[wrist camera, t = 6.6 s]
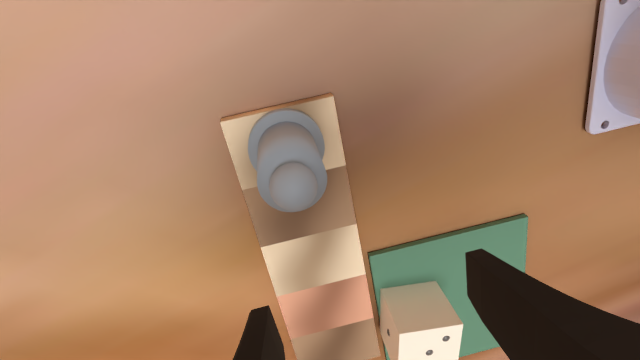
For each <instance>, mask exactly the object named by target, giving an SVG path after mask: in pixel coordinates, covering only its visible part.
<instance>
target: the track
mask: <svg viewBox="0 0 640 360" xmlns="http://www.w3.org/2000/svg"><path fill="white" fill-rule="evenodd" d="M281 108H290V109H296V110H299V111H302V112H304V113H305V114H307V115H308V116H310V117H311V118H312V119H313V120H314V121H315V122H316V124H317V125H318V127H319V129H320V131H321V133H322V135H323V139H324V144H325V151H324V156H323V159H322V161H323V164H324V167H325V169H326V173H327V186H326V189H325V192H324V194H323V195H322V197H321V198H320V199H319V201H318V202H316V203H315V204H314V205H313V206H311V207H309V208H307V209H305V210H302V211H298V212H284V211H280V210H277V209H275V208H273V207H271V206H270V205H268V204H267V203H266V202H265V201H264V200H263V198H262V197H261V195H260V193H259V191H258V187H257V171H256V170H255V168H254V167H253V165H252V164H251V161H250V159H249V155H248V140H249V135H250V132H251V130H252V128H253V126H254V124H255V123H256V122H257V121H258V120H259V119H260V118H261V117H262V116H263V115H265V114H266V113H268V112H270V111H273V110H276V109H281ZM220 124H221V127H222V131H223V134H224V137H225V140H226V143H227V146H228V149H229V152H230V155H231V158H232V161H233V164H234V167H235V170H236V173H237V177H238V180H239V183H240V186H241V189H242V192H243V195H244V198H245V201H246V204H247V207H248V210H249V213H250V216H251V219H252V223H253V226H254V229H255V232H256V235H257V238H258V241H259V244H260V247H261V250H262V253H263V256H264V259H265V262H266V265H267V269H268V272H269V275H270V278H271V281H272V284H273V287H274V290H275V293H276V296H277V299H278V302H279V305H280V308H281V311H282V315H283V318H284V321H285V324H286V327H287V330H288V333H289V336H290V339H291V342H292V345H293V348H294V351H295V354H296V357H297V360H368V359H371V358H375V357H379V356H380V350H379V345H378V339H377V334H376V328H375V323H374V317H373V312H372V306H371V301H370V295H369V290H368V284H367V279H366V273H365V267H364V262H363V256H362V251H361V245H360V240H359V234H358V229H357V223H356V218H355V212H354V207H353V201H352V196H351V190H350V185H349V179H348V173H347V168H346V162H345V157H344V151H343V146H342V140H341V135H340V129H339V124H338V118H337V113H336V107H335V102H334V96H333V95H332V94H331V93H328V94H324V95H320V96H315V97H311V98H307V99H302V100H298V101H294V102H289V103H285V104H281V105H277V106H272V107H268V108H264V109H259V110H255V111H251V112H246V113H242V114H238V115H233V116H229V117H225V118H221V121H220Z"/></svg>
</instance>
